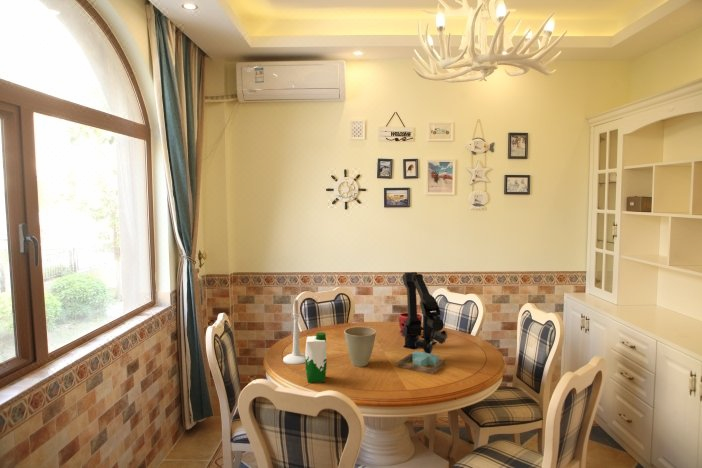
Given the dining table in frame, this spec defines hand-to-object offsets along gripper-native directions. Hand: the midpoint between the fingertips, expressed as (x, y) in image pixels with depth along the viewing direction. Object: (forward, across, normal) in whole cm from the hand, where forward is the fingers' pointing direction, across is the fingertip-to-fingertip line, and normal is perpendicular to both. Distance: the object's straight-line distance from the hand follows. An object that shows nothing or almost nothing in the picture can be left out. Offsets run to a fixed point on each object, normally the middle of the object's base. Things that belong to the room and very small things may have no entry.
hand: (428, 357), depth 217 cm
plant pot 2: (+2, +33, +26) cm, 42 cm away
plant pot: (+2, -23, +25) cm, 34 cm away
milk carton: (+1, -49, +31) cm, 58 cm away
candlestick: (+1, -34, +54) cm, 64 cm away
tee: (+2, -8, 0) cm, 8 cm away
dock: (+2, -8, 0) cm, 8 cm away
